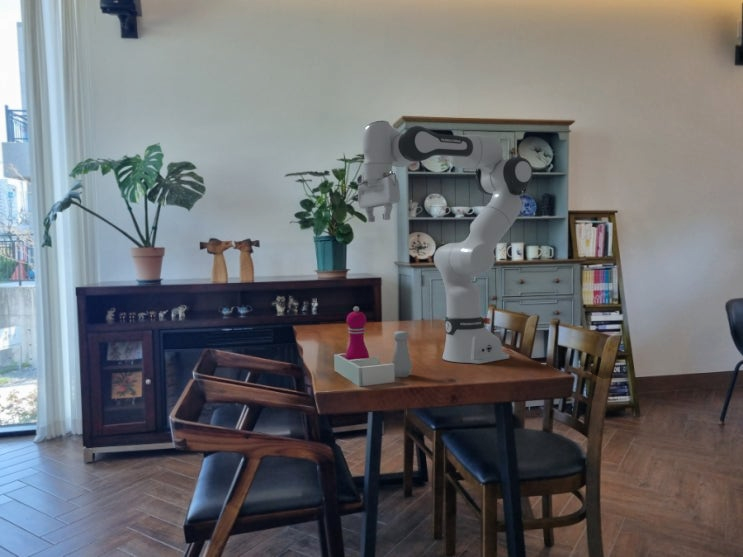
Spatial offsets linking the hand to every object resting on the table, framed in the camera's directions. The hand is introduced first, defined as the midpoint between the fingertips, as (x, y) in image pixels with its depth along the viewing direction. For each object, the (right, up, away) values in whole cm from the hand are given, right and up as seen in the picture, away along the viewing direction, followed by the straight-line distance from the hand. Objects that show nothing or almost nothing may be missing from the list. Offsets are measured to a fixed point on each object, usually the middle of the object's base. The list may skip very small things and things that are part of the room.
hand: (378, 221), depth 153 cm
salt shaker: (+7, -46, -8) cm, 47 cm away
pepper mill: (-7, -46, -2) cm, 47 cm away
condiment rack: (-5, -46, -7) cm, 47 cm away
